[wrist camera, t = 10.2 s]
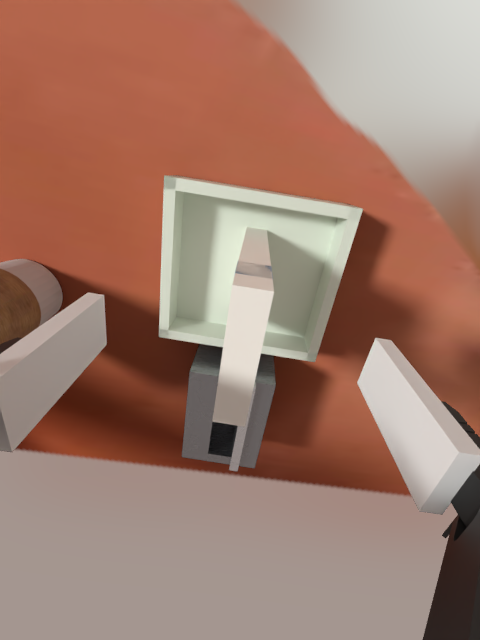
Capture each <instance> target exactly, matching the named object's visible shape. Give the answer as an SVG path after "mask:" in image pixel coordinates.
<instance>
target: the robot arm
mask: <svg viewBox="0 0 480 640" xmlns="http://www.w3.org/2000/svg"><path fill="white" fill-rule="evenodd" d="M106 345H107V338H106V320H105V301H104V295H101V294H95V293H89V292H88V293H86V294H85V295H84V296H82V297H81V298H79V299H78V300H76V301H75V302H74V303H72V304H71V305H69V306H68V307H66V308H65V309H64V310H62V311H61V312H59V313H58V314H56V315H55V316H54V317H52V318H51V319H49V320H48V321H46V322H45V323H44V324H42V325H41V326H39V327H38V328H37V329H35V330H34V331H32V332H31V333H29V334H28V335H27V336H25V337H24V338H19V337H17V338H15V339H12V340H9V341H7V342H4V343H2V344H0V451H7V452H13V451H14V450H15V449H16V447H17V446H18V445H19V444H20V443H21V442H22V441H23V439H24V438H25V437H26V436H27V435H28V434H29V433H30V431H31V430H32V429H33V428H34V427H35V426H36V425H37V423H38V422H39V421H40V420H41V419H42V418H43V417H44V415H45V414H46V413H47V412H48V411H49V410H50V409H51V408H52V406H53V405H54V404H55V403H56V402H57V401H58V400H59V398H60V397H61V396H62V395H63V394H64V393H65V392H66V390H67V389H68V388H69V387H70V386H71V385H72V384H73V382H74V381H75V380H76V379H77V378H78V377H79V376H80V375H81V373H82V372H83V371H84V370H85V369H86V368H87V367H88V365H89V364H90V363H91V362H92V361H93V360H94V359H95V357H96V356H97V355H98V354H99V353H100V352H101V351H102V349H103V348H104V347H105V346H106ZM357 384H358V386H359V388H360V390H361V392H362V394H363V396H364V398H365V400H366V402H367V404H368V406H369V408H370V411H371V413H372V415H373V417H374V419H375V421H376V423H377V425H378V427H379V429H380V431H381V433H382V435H383V437H384V440H385V442H386V444H387V446H388V448H389V450H390V452H391V454H392V456H393V458H394V460H395V462H396V464H397V466H398V469H399V471H400V473H401V475H402V477H403V479H404V481H405V483H406V485H407V487H408V489H409V491H410V493H411V495H412V498H413V500H414V502H415V504H416V506H417V508H418V510H419V511H420V512H427V513H434V514H441V515H442V514H443V513H444V512H445V510H446V509H447V507H448V506H449V505H450V503H452V505H453V506H454V508H455V510H456V511H457V513H458V516H457V517H456V518H455V519H454V521H453V522H452V523H451V524H450V526H449V527H448V528H447V530H446V531H445V532H444V533H443V535H442V536H443V537H445V538H446V537H447V536H448V535H449V538H448V543H447V546H446V550H445V554H444V558H443V562H442V566H441V570H440V574H439V578H438V582H437V586H436V590H435V594H434V597H433V601H432V605H431V609H430V613H429V617H428V621H427V625H426V629H425V633H424V637H423V640H480V437H479V436H478V435H477V434H475V431H474V430H473V429H472V428H471V427H470V426H469V425H467V422H466V421H465V420H464V418H463V417H462V416H461V415H460V414H459V413H458V412H457V411H456V410H455V409H453V408H452V407H451V406H450V405H448V404H447V403H446V402H442V401H440V400H439V399H438V397H437V396H436V395H435V394H434V392H433V391H432V390H431V389H430V387H429V386H428V385H427V384H426V383H425V381H424V380H423V379H422V378H421V376H420V375H419V374H418V373H417V371H416V370H415V369H414V368H413V367H412V365H411V364H410V363H409V362H408V360H407V359H406V358H405V357H404V355H403V354H402V353H401V352H400V351H399V349H398V348H397V347H396V346H395V344H394V343H393V342H392V341H391V340H387V339H381V338H375V340H374V343H373V345H372V348H371V350H370V353H369V355H368V357H367V360H366V362H365V365H364V367H363V370H362V372H361V375H360V377H359V380H358V382H357Z"/></svg>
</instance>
